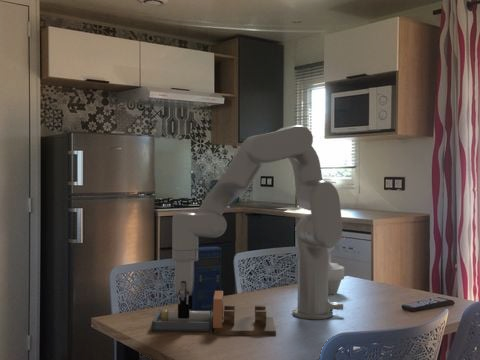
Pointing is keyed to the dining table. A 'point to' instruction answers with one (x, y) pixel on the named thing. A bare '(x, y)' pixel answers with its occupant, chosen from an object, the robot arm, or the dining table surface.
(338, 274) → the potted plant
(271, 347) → the dining table surface
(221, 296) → the orange bracket
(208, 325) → the tray
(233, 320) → the cradle board
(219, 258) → the electronic device
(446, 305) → the dining table surface
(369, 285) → the dining table surface
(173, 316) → the yellow-tipped white cylinder
